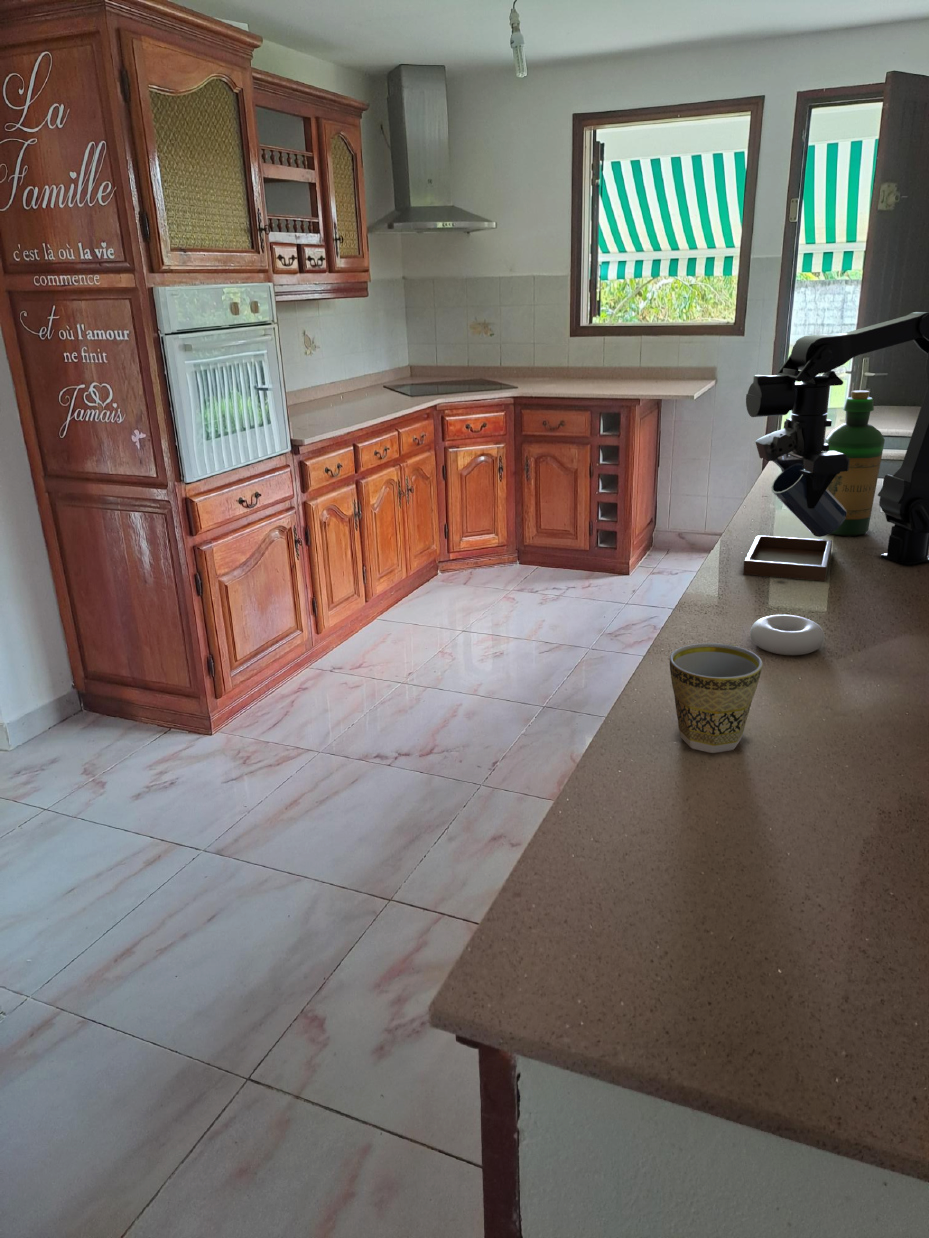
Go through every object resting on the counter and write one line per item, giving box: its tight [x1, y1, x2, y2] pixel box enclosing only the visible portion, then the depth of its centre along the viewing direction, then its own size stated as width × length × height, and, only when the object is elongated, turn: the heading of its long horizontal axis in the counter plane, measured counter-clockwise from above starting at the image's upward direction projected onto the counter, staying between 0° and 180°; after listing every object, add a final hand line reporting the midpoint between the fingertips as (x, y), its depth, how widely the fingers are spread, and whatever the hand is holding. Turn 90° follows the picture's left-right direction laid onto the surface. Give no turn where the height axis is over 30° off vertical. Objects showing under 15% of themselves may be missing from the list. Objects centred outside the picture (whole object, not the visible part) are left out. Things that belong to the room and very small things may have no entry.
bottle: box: [825, 389, 886, 537], centre depth 175 cm, size 11×11×28 cm
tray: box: [742, 534, 833, 582], centre depth 161 cm, size 18×14×3 cm
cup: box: [770, 463, 847, 538], centre depth 155 cm, size 7×7×12 cm
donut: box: [749, 614, 825, 656], centre depth 126 cm, size 10×4×10 cm
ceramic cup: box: [668, 642, 763, 754], centre depth 101 cm, size 13×10×10 cm
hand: (800, 503), depth 155 cm, fingers closed on cup, 7 cm apart
